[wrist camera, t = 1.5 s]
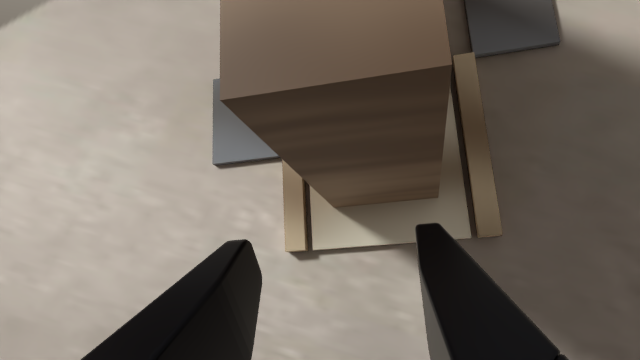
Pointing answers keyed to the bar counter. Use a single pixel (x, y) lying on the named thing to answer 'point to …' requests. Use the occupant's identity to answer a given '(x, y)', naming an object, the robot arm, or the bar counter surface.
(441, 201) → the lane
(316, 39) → the walnut block
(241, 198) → the bar counter surface
